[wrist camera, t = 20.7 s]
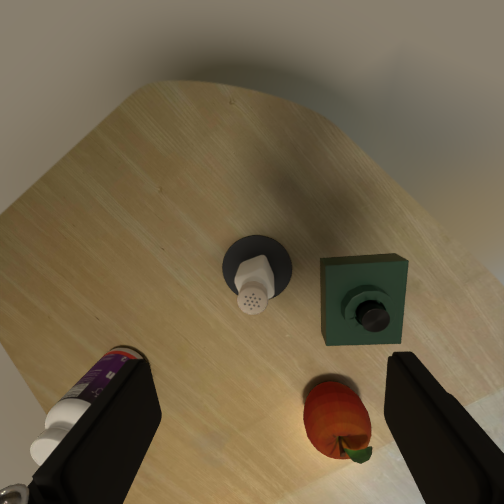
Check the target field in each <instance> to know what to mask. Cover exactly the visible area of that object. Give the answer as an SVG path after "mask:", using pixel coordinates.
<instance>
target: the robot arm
mask: <svg viewBox="0 0 504 504" xmlns="http://www.w3.org/2000/svg"><path fill="white" fill-rule="evenodd" d="M161 417H162V413H161V408H160V404H159V401H158V397H157V393H156V389H155V385H154V381H153V377H152V373H151V370H150V366H149V363H147V362H146V361H145V360H144V359H129V360H127V361H126V362H125V363H124V365H123V366H122V367H121V368H120V369H119V371H118V372H117V373H116V374H115V376H114V377H113V378H112V379H111V380H110V382H109V383H108V384H107V385H106V387H105V388H104V389H103V390H102V391H101V393H100V394H99V395H98V396H97V398H96V399H95V400H94V401H93V402H92V404H91V405H90V406H89V407H88V409H87V410H86V411H85V412H84V414H83V415H82V416H81V417H80V418H79V420H78V421H77V422H76V423H75V425H74V426H73V427H72V428H71V429H70V431H69V432H68V433H67V434H66V436H65V437H64V438H63V439H62V440H61V442H60V443H59V444H58V445H57V447H56V448H55V449H54V450H53V451H52V453H51V454H50V455H49V456H48V458H47V459H46V460H45V461H44V463H43V464H42V465H41V466H40V468H39V469H38V470H37V471H36V472H35V474H34V475H33V476H32V477H33V480H32V482H31V483H30V484H29V485H28V487H26V485H24V484H15V485H10V486H8V487H6V488H4V489H2V490H0V504H123V502H124V500H125V498H126V496H127V493H128V491H129V489H130V487H131V485H132V483H133V480H134V478H135V476H136V474H137V472H138V470H139V467H140V465H141V463H142V461H143V459H144V457H145V454H146V452H147V450H148V448H149V446H150V444H151V441H152V439H153V437H154V435H155V433H156V431H157V428H158V426H159V424H160V422H161ZM384 417H385V420H386V423H387V425H388V427H389V429H390V431H391V433H392V435H393V438H394V440H395V442H396V444H397V446H398V448H399V450H400V452H401V454H402V456H403V458H404V460H405V462H406V464H407V466H408V468H409V470H410V472H411V474H412V476H413V478H414V480H415V483H416V485H417V487H418V489H419V491H420V493H421V495H422V497H423V499H424V501H425V503H426V504H504V453H503V452H502V451H501V450H500V449H499V447H498V446H497V445H496V444H495V443H494V442H493V441H492V439H491V438H490V437H489V436H488V435H487V434H486V433H485V431H484V430H483V429H482V428H481V427H480V426H479V424H478V423H477V422H476V421H475V420H474V419H473V418H472V416H471V415H470V414H469V413H468V412H467V411H466V410H465V408H464V407H463V406H462V405H461V404H460V403H459V402H458V400H457V399H456V398H455V397H454V396H453V395H451V394H449V393H448V392H446V391H445V389H444V388H443V387H442V386H441V385H440V384H439V382H438V381H437V380H436V379H435V378H434V377H433V375H432V374H431V373H430V372H429V371H428V370H427V368H426V367H425V366H424V365H423V364H422V363H421V361H420V360H419V359H418V358H417V357H416V355H415V354H414V353H413V352H410V351H409V352H393V354H392V356H389V357H388V363H387V376H386V390H385V403H384Z"/></svg>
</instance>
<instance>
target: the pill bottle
mask: <svg viewBox="0 0 504 504" xmlns="http://www.w3.org/2000/svg"><path fill="white" fill-rule="evenodd" d="M129 359H143V357H142V356H141V355H139V354H138V353H137V352H135V351H133V350H131V349H128V348H115V349H112V350H110V351H109V352H107V353H106V354H105V355H104V356H103V357H102V358H101V359H100V360H99V361H98V362H97V363H96V364H95V365H94V366H93V367H92V368H91V369H90V370H89V371H88V372H87V373H86V374H85V375H84V376H83V377H82V378H81V379H80V380H79V381H78V382H77V383H76V384H75V385H74V386H73V387H72V388H71V389H70V390H69V391H68V392H67V393H66V394H65V395H64V396H63V397H62V398H61V399H60V400H59V401H58V402H57V403H56V404H55V405H54V406H53V407H52V409H51V410H50V411H49V413H48V415H47V417H46V421H45V429H46V430H45V431H44V432H42V433H41V434H40V436H39V437H38V438H37V439H36V440H35V441H34V442H33V444H32V446H31V448H30V453H31V456H32V458H33V459H34V460H35V462H36V463H37V464H38V465H40V466H41V465H42V464H43V463H44V461H45V460H46V459H47V458H48V456H49V455H50V454H51V453H52V451H53V450H54V449H55V448H56V447H57V445H58V444H59V443H60V442H61V440H62V439H63V438H64V437H65V436H66V434H67V433H68V432H69V431H70V429H71V428H72V427H73V426H74V425H75V423H76V422H77V421H78V420H79V418H80V417H81V416H82V415H83V414H84V412H85V411H86V410H87V409H88V407H89V406H90V405H91V404H92V402H93V401H94V400H95V399H96V398H97V396H98V395H99V394H100V393H101V391H102V390H103V389H104V388H105V387H106V385H107V384H108V383H109V382H110V380H111V379H112V378H113V377H114V376H115V374H116V373H117V372H118V371H119V369H120V368H121V367H122V366H123V365H124V363H125V362H126V361H127V360H129Z"/></svg>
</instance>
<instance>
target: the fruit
mask: <svg viewBox="0 0 504 504" xmlns="http://www.w3.org/2000/svg"><path fill="white" fill-rule="evenodd" d="M303 420H304V425H305V429H306V433H307V437H308V438H309V440H310V441H311V443H312V444H313V446H314V447H315V448H316V449H317V450H318V451H320V452H321V453H322V454H324V455H326V456H327V457H330V458H334V459H352V460H353V461H354V462H357V463H360V464H362V463H364V462H366V461H368V460H369V459H370V457H371V455H372V446H369V447H368V444H369V442H370V438H371V422H370V418H369V415H368V411H367V410H366V408H365V406H364V404H363V403H362V401H361V399H360V398H359V397H358V396H357V394H356V393H355V392H354V391H352V390H351V389H350V388H349V387H348V386H345V385H343V384H341V383H338V382H332V381H329V382H323V383H321V384H318V385H317V386H316V387H314V388H313V389H312V390H311V391H310V393H309V395H308V396H307V398H306V402H305V406H304V414H303Z"/></svg>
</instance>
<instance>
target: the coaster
mask: <svg viewBox="0 0 504 504" xmlns="http://www.w3.org/2000/svg"><path fill="white" fill-rule="evenodd" d="M259 255H265V256H266V257H267V260H268V262H269V265H270V267H271V269H272V272H273V274H274V291H275V292H274V296H273V297H272V298H274V297H276V296H277V295H279V294H280V293H281V292H282V291H283V290H284V289H285V288H286V287H287V285H288V283H289V281H290V278H291V274H292V264H291V260H290V257H289V255H288V253H287V251H286V250H285V248H284V247H283V246H282V245H281V244H280V243H278V242H277V241H275V240H274V239H272V238H269V237H266V236H260V235H253V236H247V237H244V238H242V239H240V240H238V241H236V242H235V243H234V244H233V245H232V246H231V247H230V248H229V249H228V251H227V253H226V254H225V257H224V260H223V266H222V269H223V276H224V279H225V281H226V283H227V285H228V286H229V288H230V289H231V290H232V291H233V292H234V293H235V294H237V295H238V294H239V292H238V290H237V287H236V285H235V276H236V273H237V271H238V268H239V265H240V264H241V263H242V262H244V261H246V260H249V259H251V258H254V257H257V256H259ZM272 298H270V299H272ZM268 300H269V299H268Z"/></svg>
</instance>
